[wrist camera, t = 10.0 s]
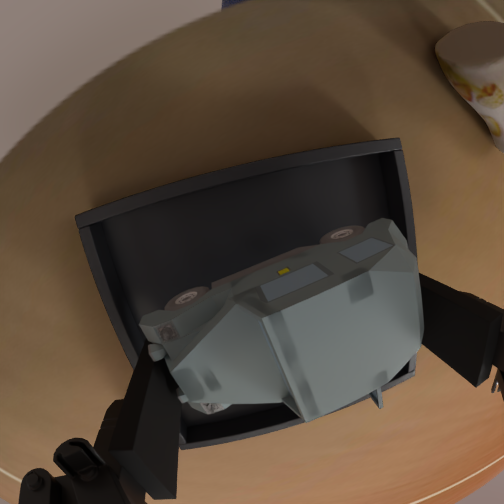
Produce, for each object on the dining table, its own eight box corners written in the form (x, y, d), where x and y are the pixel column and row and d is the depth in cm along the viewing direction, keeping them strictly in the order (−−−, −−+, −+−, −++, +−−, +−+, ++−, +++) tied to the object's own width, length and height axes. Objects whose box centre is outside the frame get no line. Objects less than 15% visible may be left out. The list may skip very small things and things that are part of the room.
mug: (494, 185, 16) (564, 156, 6) (408, 94, 18) (424, 14, 8) (531, 132, 13) (591, 89, 4) (453, 50, 15) (476, -24, 6)
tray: (91, 211, 13) (73, 215, 11) (379, 141, 14) (400, 137, 12) (182, 428, 16) (181, 450, 14) (399, 361, 17) (415, 375, 15)
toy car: (148, 302, 12) (118, 369, 7) (366, 214, 12) (442, 232, 7) (212, 409, 13) (217, 485, 8) (390, 331, 14) (447, 380, 9)
